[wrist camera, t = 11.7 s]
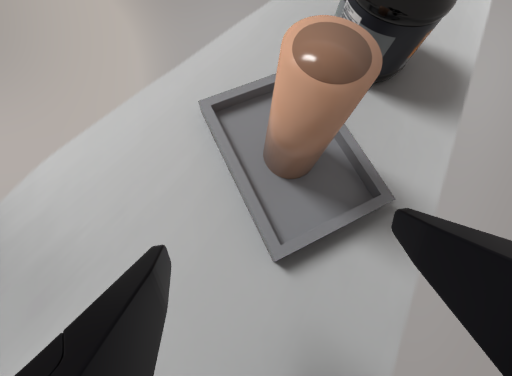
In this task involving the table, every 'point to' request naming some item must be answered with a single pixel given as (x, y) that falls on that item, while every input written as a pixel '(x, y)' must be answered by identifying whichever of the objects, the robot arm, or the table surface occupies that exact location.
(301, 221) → the charcoal tray
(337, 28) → the terracotta cup
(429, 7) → the supplement container
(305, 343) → the table surface
